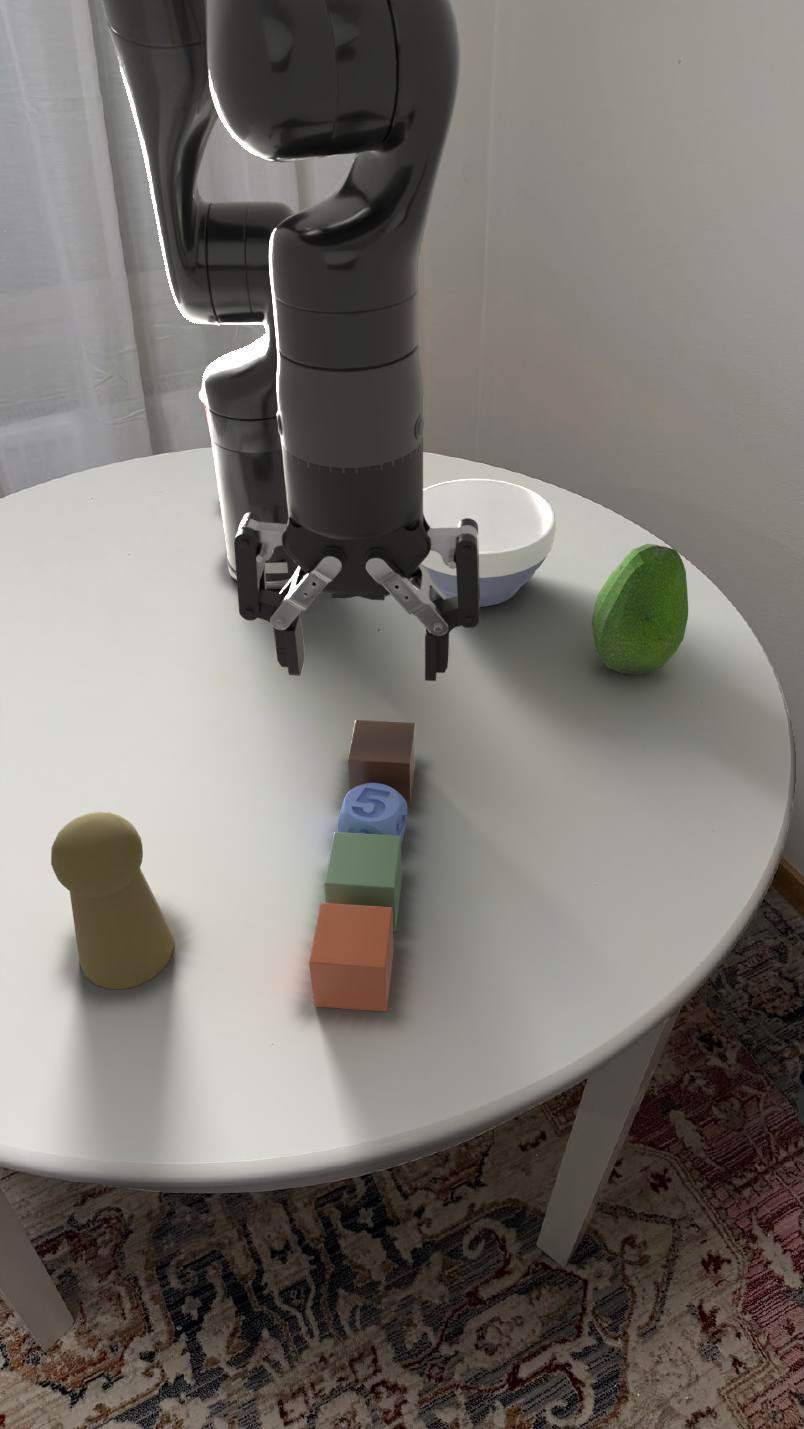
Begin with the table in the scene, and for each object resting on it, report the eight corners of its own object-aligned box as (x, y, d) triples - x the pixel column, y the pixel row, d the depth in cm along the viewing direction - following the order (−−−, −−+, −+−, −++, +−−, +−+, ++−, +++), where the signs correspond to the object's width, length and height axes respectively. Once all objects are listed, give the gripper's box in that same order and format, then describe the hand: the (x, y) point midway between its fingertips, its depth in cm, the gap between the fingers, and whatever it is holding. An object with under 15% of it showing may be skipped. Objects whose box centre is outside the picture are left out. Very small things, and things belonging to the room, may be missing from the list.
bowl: (539, 543, 103) (545, 475, 99) (560, 624, 92) (568, 553, 87) (398, 547, 103) (397, 479, 98) (402, 629, 92) (401, 557, 87)
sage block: (337, 876, 70) (333, 831, 67) (402, 879, 69) (401, 835, 66) (328, 928, 66) (323, 883, 63) (395, 932, 66) (394, 887, 63)
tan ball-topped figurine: (87, 916, 67) (47, 799, 60) (178, 909, 68) (149, 793, 61) (72, 993, 63) (27, 877, 56) (169, 985, 63) (137, 869, 56)
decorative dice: (408, 826, 73) (407, 787, 71) (392, 867, 70) (391, 827, 68) (355, 816, 74) (353, 777, 71) (338, 856, 71) (335, 816, 69)
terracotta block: (324, 946, 65) (320, 902, 62) (393, 951, 65) (392, 906, 62) (313, 1006, 62) (308, 962, 59) (386, 1012, 61) (385, 967, 58)
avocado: (692, 686, 85) (719, 565, 77) (604, 699, 84) (623, 577, 76) (655, 633, 91) (676, 515, 83) (572, 644, 90) (587, 526, 82)
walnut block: (357, 763, 78) (355, 719, 76) (415, 766, 78) (414, 722, 75) (350, 804, 75) (347, 760, 72) (410, 807, 75) (409, 763, 72)
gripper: (488, 402, 55) (477, 639, 66) (233, 396, 56) (263, 631, 67) (486, 466, 50) (474, 714, 60) (202, 458, 51) (240, 704, 61)
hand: (363, 670), depth 63 cm, fingers open, 8 cm apart
